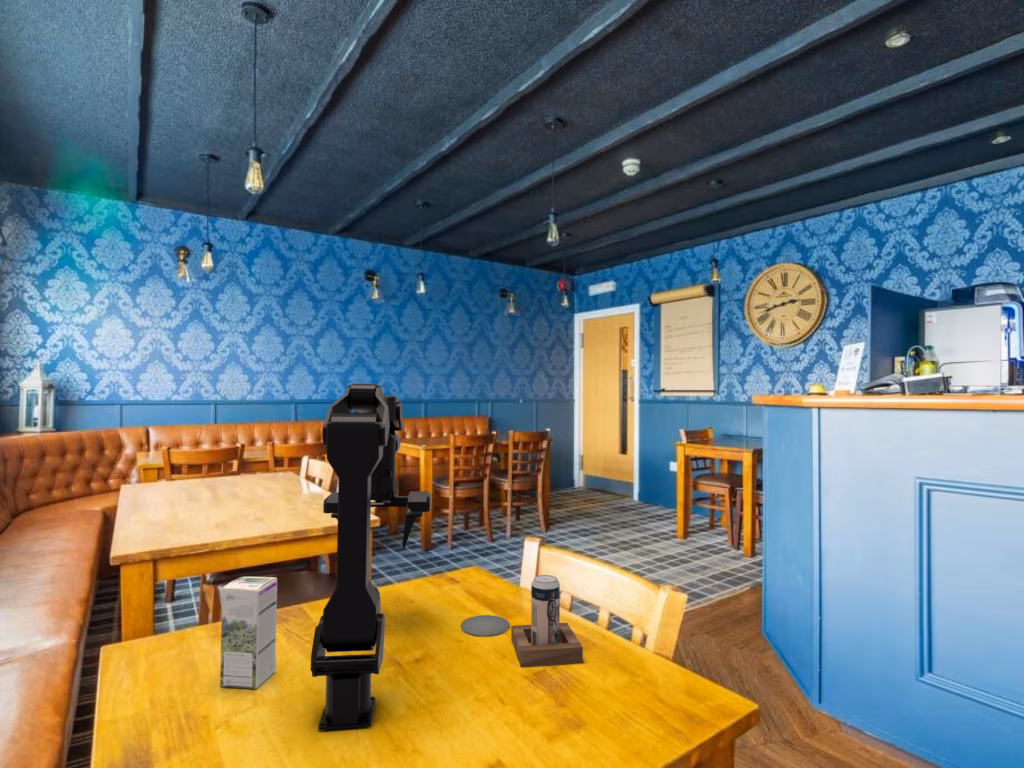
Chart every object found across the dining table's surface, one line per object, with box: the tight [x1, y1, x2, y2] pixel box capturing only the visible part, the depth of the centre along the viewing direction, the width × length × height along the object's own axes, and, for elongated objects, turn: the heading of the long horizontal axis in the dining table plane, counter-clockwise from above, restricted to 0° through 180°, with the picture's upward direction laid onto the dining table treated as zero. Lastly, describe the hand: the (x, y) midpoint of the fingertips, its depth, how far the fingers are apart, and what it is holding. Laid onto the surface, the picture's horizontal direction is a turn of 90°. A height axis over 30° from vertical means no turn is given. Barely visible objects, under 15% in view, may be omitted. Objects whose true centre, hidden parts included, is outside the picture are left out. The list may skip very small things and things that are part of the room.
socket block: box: [510, 622, 584, 668], centre depth 92 cm, size 10×10×2 cm
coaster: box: [460, 614, 510, 638], centre depth 102 cm, size 9×9×1 cm
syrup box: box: [219, 575, 278, 690], centre depth 82 cm, size 6×6×14 cm
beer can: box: [530, 574, 561, 645], centre depth 92 cm, size 5×5×12 cm
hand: (378, 549), depth 101 cm, fingers open, 9 cm apart
